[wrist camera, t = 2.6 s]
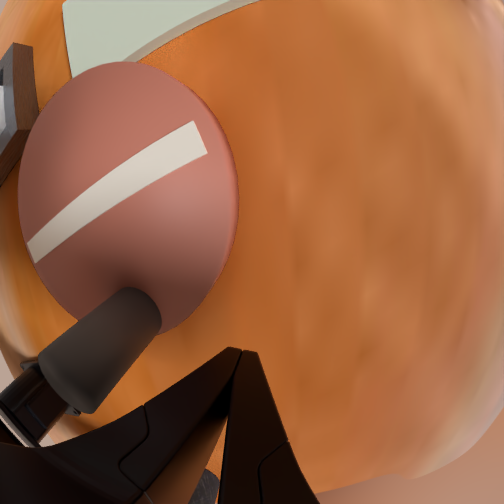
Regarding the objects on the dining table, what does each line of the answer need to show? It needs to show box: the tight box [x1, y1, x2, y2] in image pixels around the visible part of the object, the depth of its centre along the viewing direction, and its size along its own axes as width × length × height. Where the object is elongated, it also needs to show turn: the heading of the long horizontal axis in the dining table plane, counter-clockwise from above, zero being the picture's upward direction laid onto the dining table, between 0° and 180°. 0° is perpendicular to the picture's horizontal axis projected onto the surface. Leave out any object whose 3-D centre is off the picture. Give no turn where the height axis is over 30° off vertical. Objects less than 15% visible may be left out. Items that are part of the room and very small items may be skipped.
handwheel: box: [18, 62, 239, 414], centre depth 6 cm, size 10×10×5 cm
